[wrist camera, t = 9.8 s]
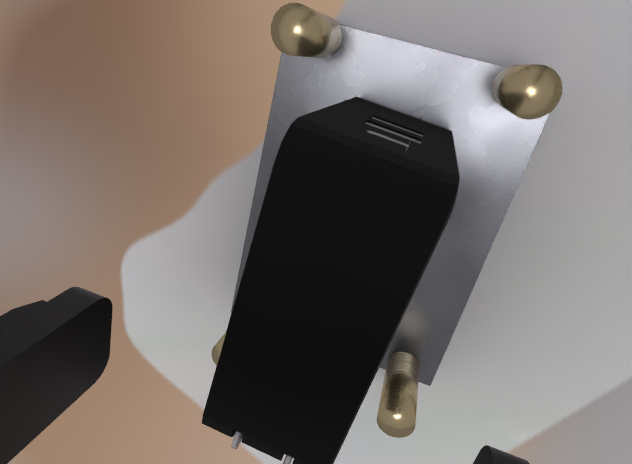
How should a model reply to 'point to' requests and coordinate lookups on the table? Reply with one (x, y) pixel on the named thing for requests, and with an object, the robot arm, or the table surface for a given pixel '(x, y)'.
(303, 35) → the chassis
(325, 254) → the electronic device
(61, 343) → the robot arm
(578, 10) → the table surface
